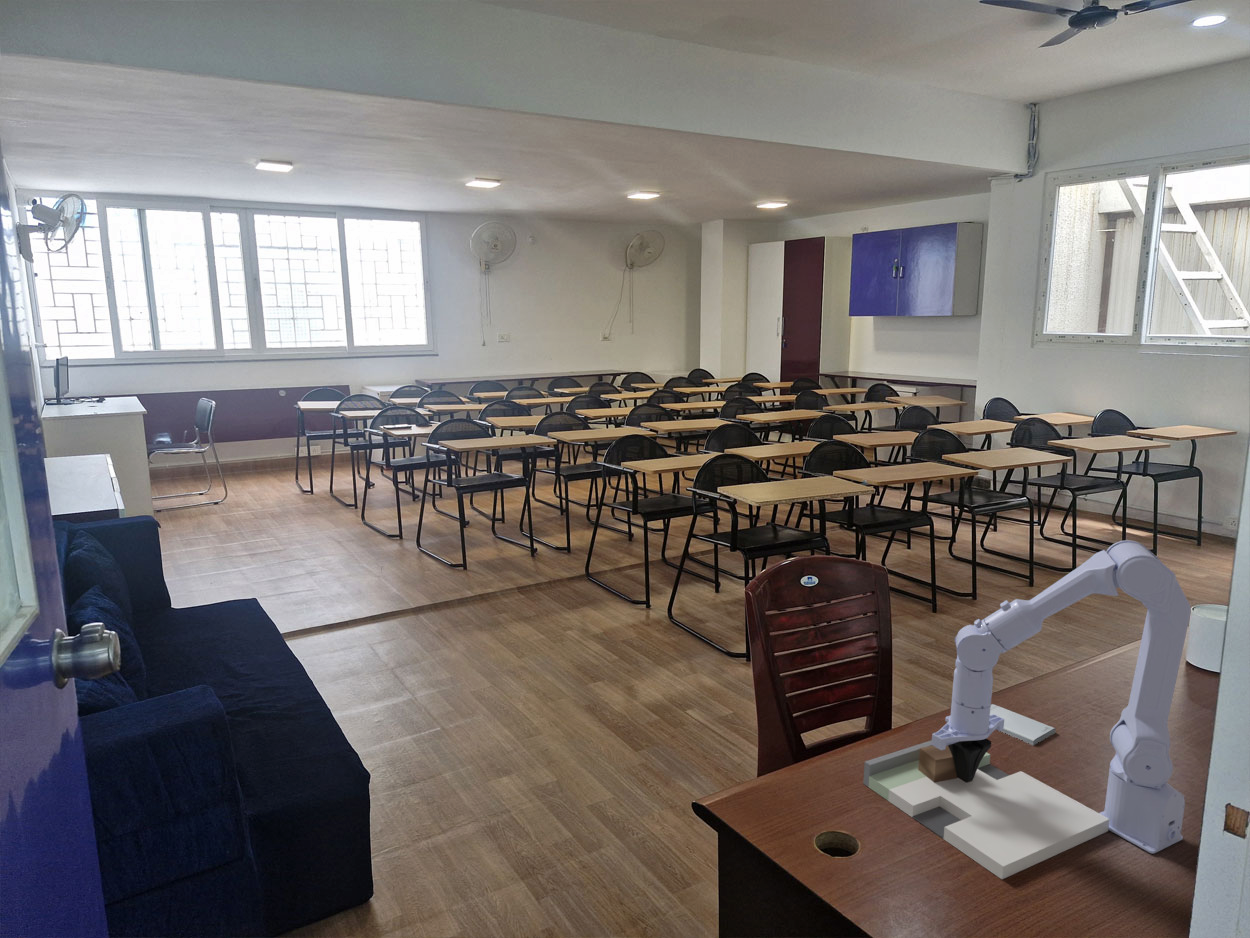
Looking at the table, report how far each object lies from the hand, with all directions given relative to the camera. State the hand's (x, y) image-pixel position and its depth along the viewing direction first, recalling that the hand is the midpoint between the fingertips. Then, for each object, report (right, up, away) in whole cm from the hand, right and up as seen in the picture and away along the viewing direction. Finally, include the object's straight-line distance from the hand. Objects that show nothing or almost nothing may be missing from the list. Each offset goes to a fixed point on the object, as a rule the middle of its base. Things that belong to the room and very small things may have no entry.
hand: (964, 778), depth 130 cm
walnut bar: (-1, 0, +4) cm, 4 cm away
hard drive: (+19, 0, +24) cm, 31 cm away
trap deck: (+2, -4, -2) cm, 5 cm away
